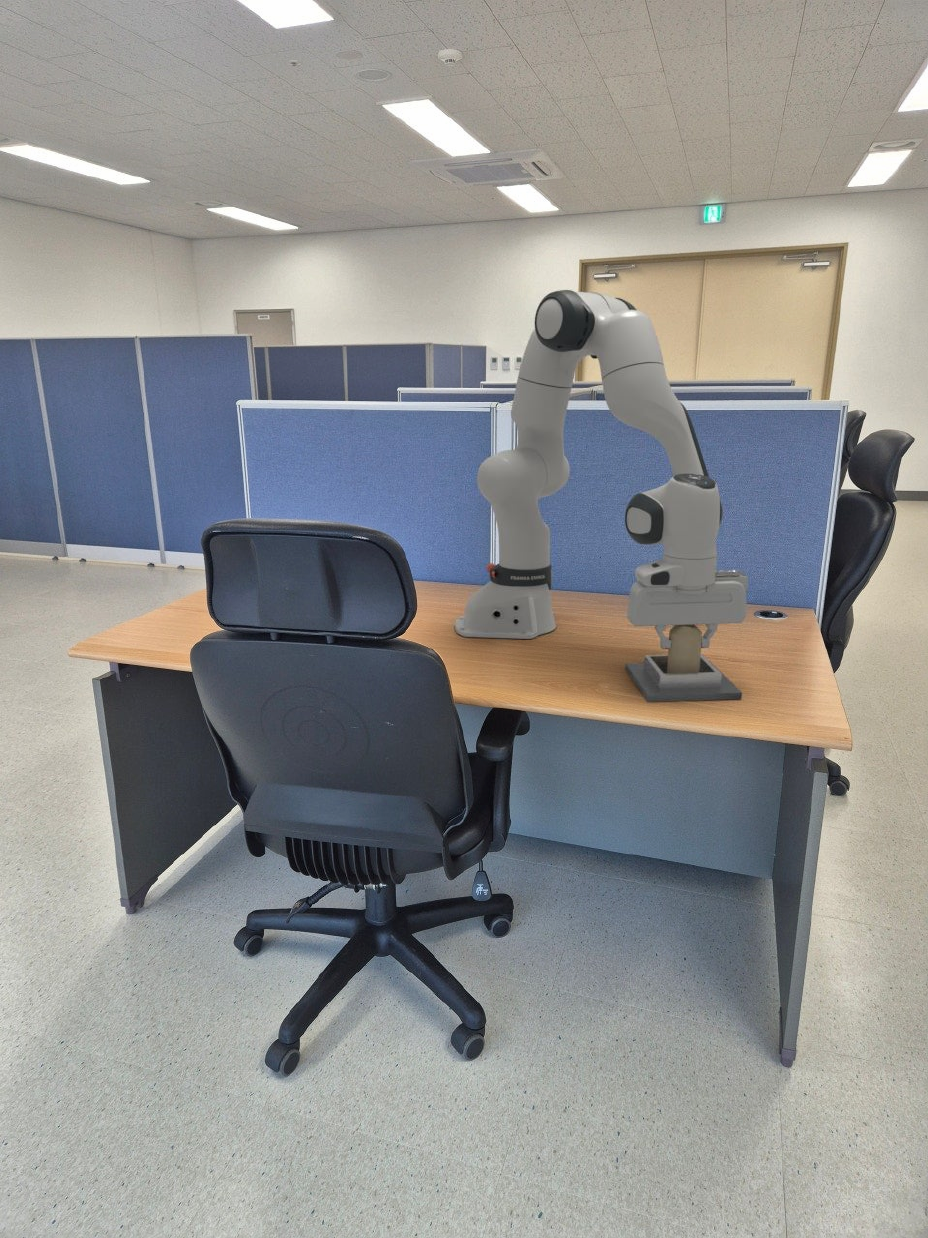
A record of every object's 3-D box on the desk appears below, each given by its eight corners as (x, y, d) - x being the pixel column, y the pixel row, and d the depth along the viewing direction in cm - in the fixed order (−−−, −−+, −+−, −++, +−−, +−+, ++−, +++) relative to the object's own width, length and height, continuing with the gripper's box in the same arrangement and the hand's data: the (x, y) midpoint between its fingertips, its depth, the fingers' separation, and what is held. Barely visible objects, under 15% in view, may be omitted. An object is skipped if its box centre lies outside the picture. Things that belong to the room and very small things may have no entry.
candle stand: (647, 702, 132) (648, 681, 131) (625, 669, 147) (626, 650, 146) (741, 699, 132) (743, 678, 131) (709, 667, 148) (711, 648, 147)
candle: (693, 685, 136) (697, 630, 133) (662, 679, 139) (665, 625, 136) (702, 675, 140) (706, 621, 137) (672, 670, 143) (675, 617, 140)
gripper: (741, 565, 137) (735, 640, 141) (626, 568, 137) (623, 644, 141) (756, 573, 131) (749, 651, 135) (635, 576, 131) (632, 655, 135)
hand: (684, 647), depth 138 cm, fingers closed on candle, 5 cm apart
